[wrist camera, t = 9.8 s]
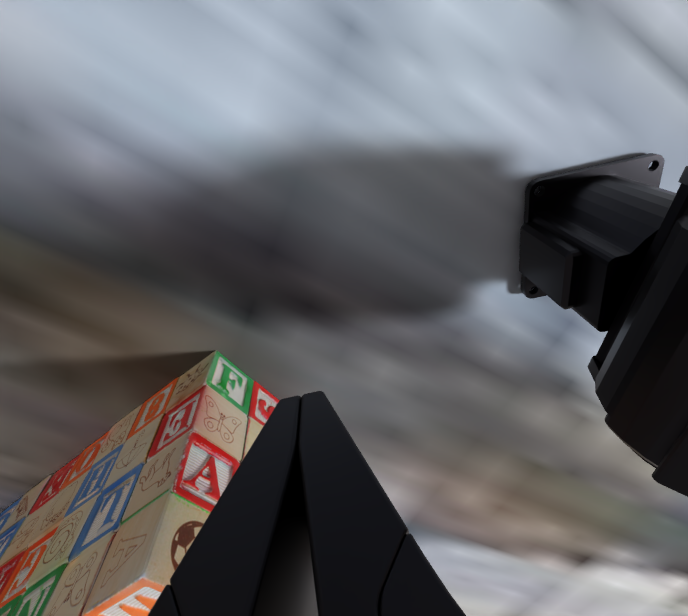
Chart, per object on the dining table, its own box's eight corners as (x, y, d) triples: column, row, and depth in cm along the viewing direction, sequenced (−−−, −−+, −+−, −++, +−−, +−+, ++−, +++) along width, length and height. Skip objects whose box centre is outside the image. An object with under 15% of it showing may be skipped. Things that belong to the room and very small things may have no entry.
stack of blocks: (80, 545, 30) (-39, 797, 20) (-1, 511, 27) (-192, 783, 17) (290, 405, 25) (282, 644, 14) (216, 345, 22) (140, 586, 12)
